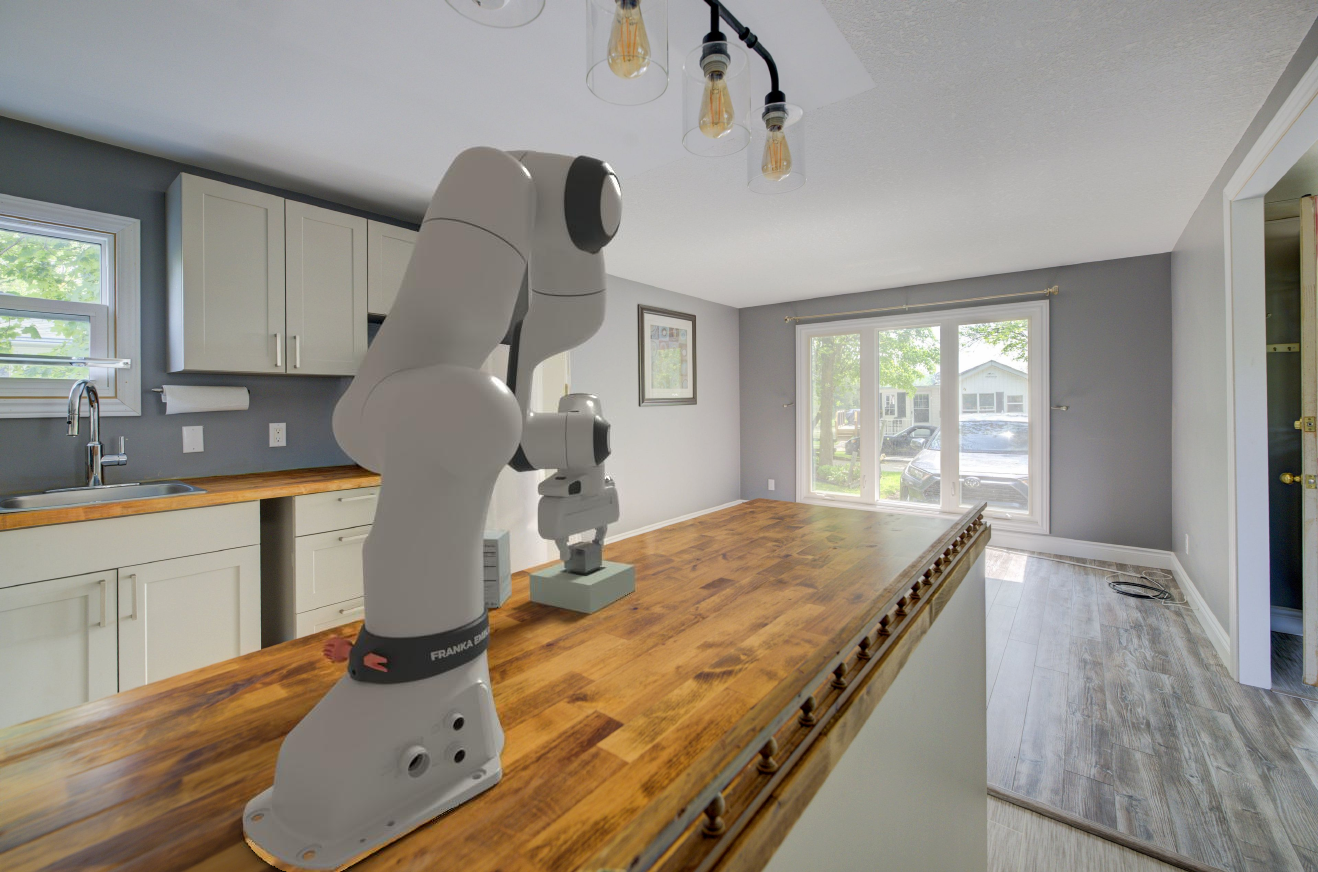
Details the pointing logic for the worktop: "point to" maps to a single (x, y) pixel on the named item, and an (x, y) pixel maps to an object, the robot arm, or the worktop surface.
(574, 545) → the knob
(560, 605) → the block
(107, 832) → the worktop surface
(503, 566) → the supplement box
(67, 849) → the worktop surface
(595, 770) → the worktop surface
